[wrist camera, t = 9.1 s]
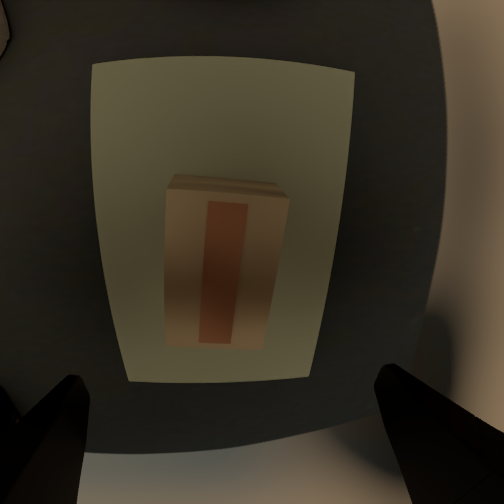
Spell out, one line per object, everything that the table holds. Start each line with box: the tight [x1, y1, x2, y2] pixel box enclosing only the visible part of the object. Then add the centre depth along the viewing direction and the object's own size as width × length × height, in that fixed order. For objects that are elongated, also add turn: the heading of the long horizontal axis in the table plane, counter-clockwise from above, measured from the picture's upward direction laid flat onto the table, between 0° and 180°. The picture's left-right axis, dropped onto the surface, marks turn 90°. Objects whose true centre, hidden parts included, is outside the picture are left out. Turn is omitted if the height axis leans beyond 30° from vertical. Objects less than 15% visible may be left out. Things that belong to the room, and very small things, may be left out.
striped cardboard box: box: [164, 174, 290, 350], centre depth 15 cm, size 8×5×3 cm, turn 173°
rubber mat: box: [91, 56, 355, 383], centre depth 17 cm, size 20×13×1 cm, turn 177°
